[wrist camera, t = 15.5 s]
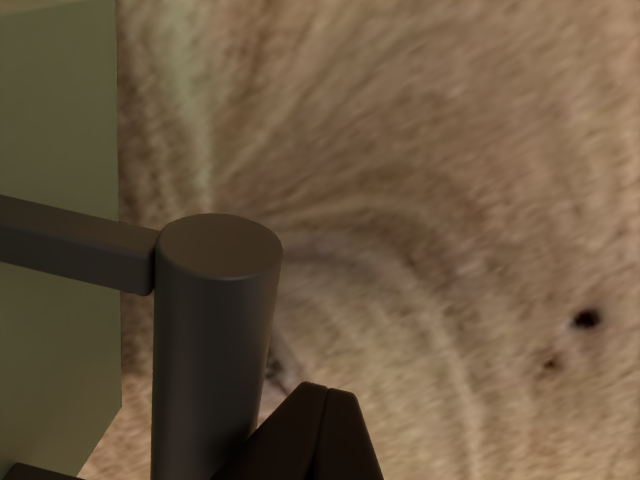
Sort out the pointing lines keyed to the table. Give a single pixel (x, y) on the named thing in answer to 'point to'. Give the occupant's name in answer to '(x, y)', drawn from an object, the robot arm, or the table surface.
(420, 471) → the table surface
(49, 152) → the drawer
